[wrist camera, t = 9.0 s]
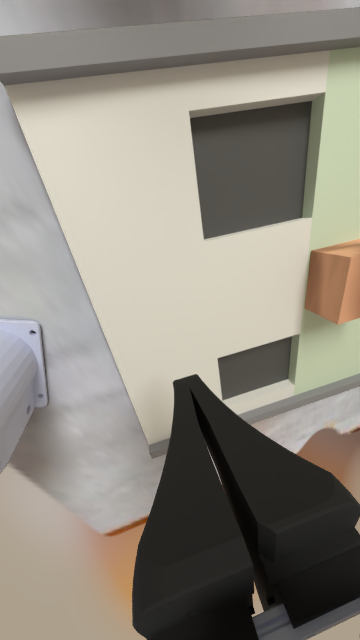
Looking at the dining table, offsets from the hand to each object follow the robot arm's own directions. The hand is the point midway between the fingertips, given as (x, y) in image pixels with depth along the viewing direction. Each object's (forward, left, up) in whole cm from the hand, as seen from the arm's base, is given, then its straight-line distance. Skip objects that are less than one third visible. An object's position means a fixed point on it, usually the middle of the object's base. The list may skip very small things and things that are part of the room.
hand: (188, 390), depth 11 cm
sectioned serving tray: (+4, -11, -10) cm, 16 cm away
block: (+6, -17, -9) cm, 20 cm away
